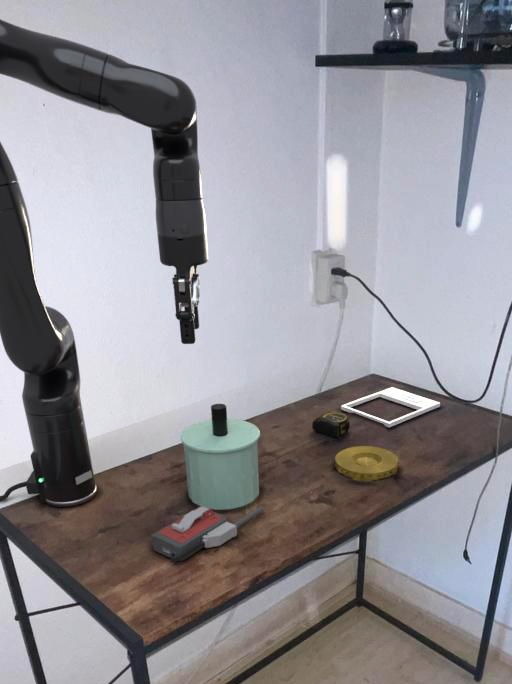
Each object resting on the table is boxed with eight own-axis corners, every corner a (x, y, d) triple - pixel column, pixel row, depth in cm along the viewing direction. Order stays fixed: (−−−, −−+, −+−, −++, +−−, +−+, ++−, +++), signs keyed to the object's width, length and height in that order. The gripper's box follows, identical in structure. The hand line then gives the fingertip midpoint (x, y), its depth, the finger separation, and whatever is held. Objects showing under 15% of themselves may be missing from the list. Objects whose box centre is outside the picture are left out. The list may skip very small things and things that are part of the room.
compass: (373, 451, 139) (373, 441, 138) (410, 474, 130) (411, 463, 129) (323, 464, 134) (323, 454, 133) (358, 489, 125) (359, 478, 124)
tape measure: (310, 433, 148) (310, 417, 146) (331, 424, 152) (331, 408, 150) (335, 442, 143) (335, 426, 142) (355, 432, 148) (356, 416, 146)
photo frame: (440, 401, 159) (389, 422, 149) (440, 406, 160) (388, 427, 150) (392, 386, 169) (341, 404, 158) (392, 390, 169) (340, 409, 159)
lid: (177, 457, 113) (174, 423, 110) (184, 425, 125) (181, 393, 122) (260, 455, 113) (258, 420, 110) (259, 423, 125) (258, 391, 122)
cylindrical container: (186, 513, 119) (180, 452, 113) (192, 479, 130) (187, 423, 124) (259, 510, 119) (256, 450, 113) (259, 477, 130) (256, 421, 124)
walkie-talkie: (185, 572, 103) (267, 517, 117) (182, 547, 101) (266, 494, 115) (144, 553, 108) (228, 502, 122) (141, 529, 106) (227, 480, 119)
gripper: (162, 224, 111) (172, 325, 119) (151, 238, 99) (162, 349, 107) (209, 223, 111) (215, 324, 119) (203, 237, 99) (211, 348, 107)
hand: (190, 335), depth 113 cm, fingers open, 8 cm apart
